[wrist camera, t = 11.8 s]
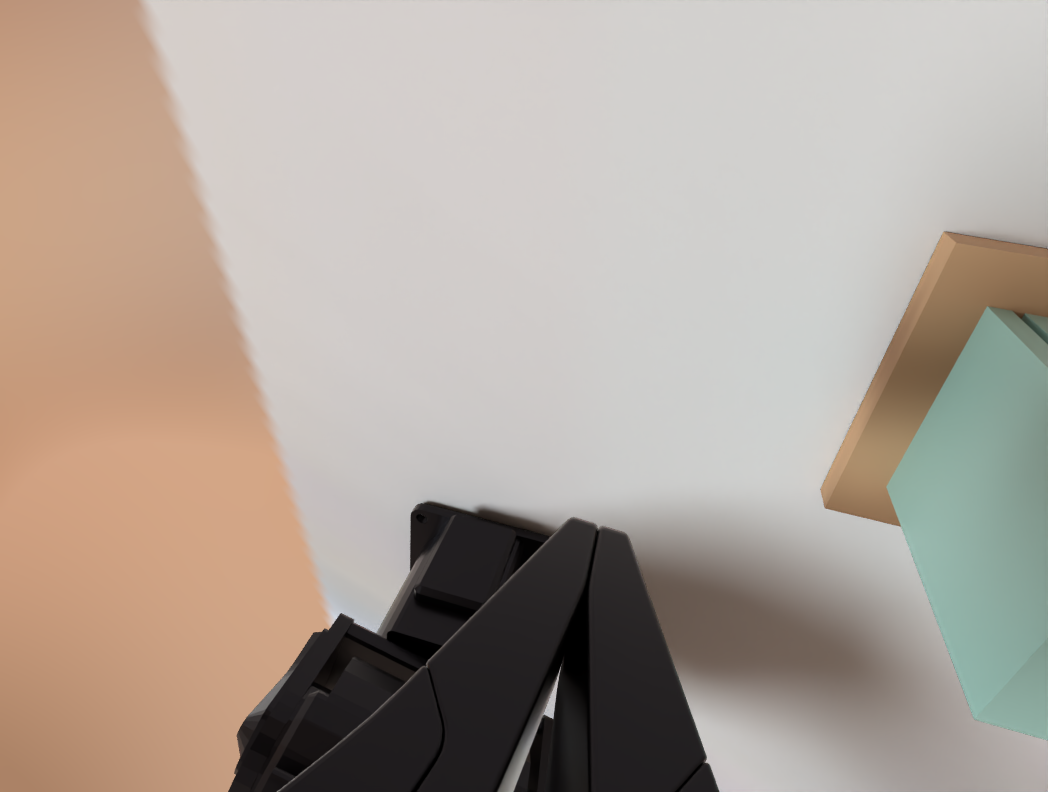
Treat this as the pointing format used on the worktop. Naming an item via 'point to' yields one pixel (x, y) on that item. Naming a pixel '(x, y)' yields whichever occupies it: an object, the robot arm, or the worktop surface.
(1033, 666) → the slotted green cube
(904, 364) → the tan base with block
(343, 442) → the worktop surface
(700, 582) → the worktop surface
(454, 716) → the robot arm
